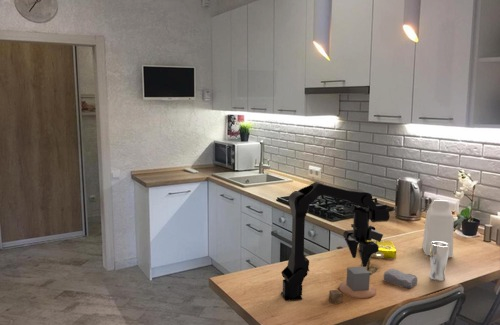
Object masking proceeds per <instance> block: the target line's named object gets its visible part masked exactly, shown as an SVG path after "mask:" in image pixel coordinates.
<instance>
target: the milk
mask: <svg viewBox="0 0 500 325" xmlns="http://www.w3.org/2000/svg"><path fill="white" fill-rule="evenodd" d="M424 222H425V223H424V229H423V230H424V231H423V239H422V247H423V248H422V250H423V253H424V252H425V253H424V255H425V254H426V255H425V256H428V255H430V248H431V242H434V241H440V242H444V243H447V244H448V258H450V257H454V215H453V213H452V209H451V206H450V203H449V200H447V199H446V200H445V199H434V200H433V201H432V203H431V205H430V206H429V207H428V209H427V211H426V216H425V221H424Z"/></svg>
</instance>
